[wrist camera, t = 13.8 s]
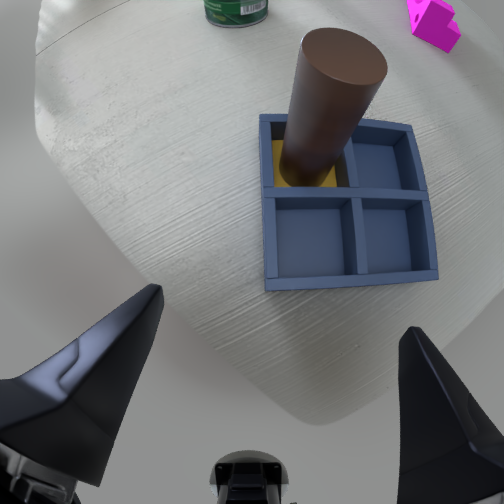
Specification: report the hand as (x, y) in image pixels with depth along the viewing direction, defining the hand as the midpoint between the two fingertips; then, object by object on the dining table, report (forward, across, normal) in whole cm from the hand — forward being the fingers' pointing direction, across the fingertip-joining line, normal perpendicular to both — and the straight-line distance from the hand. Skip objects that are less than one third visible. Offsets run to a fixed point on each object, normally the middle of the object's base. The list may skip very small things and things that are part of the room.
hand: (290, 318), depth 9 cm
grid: (+15, -4, +3) cm, 16 cm away
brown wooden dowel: (+16, -1, 0) cm, 16 cm away
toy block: (+41, -19, -23) cm, 51 cm away
